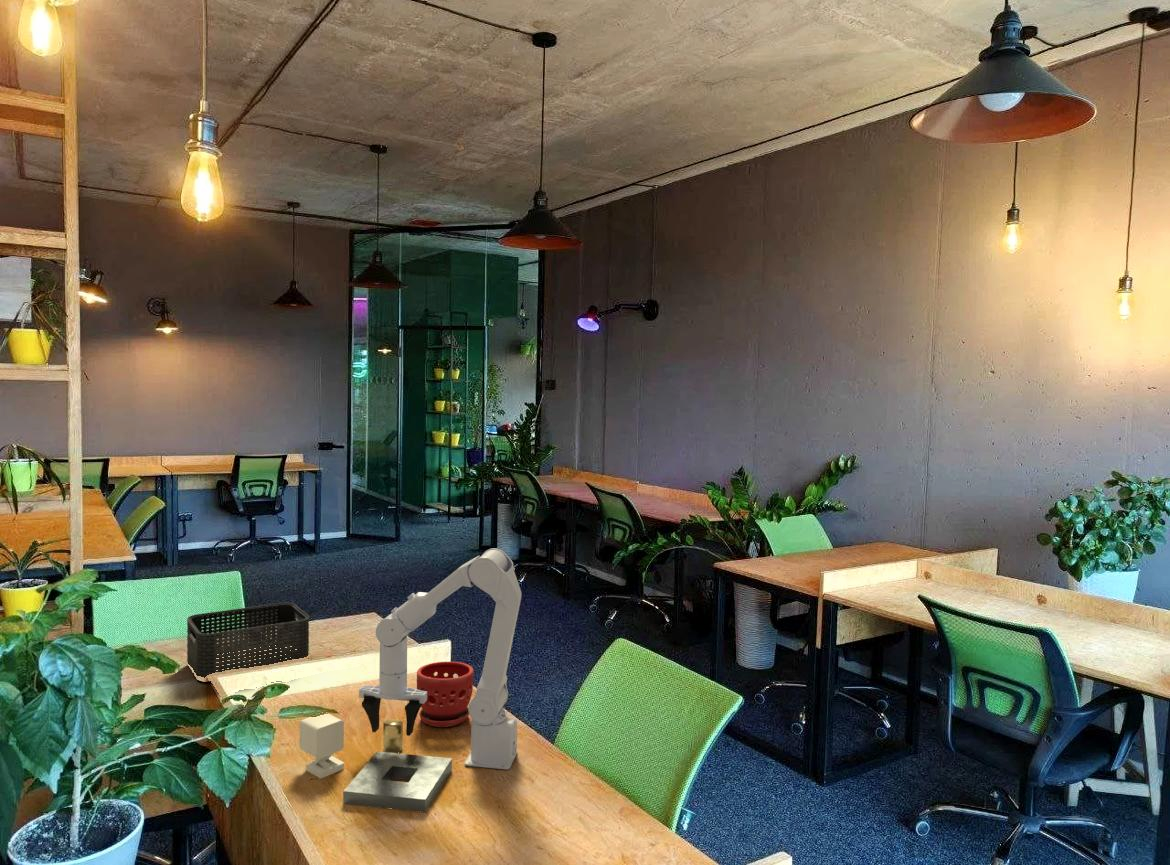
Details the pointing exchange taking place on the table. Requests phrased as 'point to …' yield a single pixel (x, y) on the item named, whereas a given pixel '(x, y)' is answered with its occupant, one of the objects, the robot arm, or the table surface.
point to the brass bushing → (392, 735)
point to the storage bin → (246, 637)
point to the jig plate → (382, 792)
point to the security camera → (322, 743)
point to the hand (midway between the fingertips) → (392, 732)
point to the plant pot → (445, 693)
